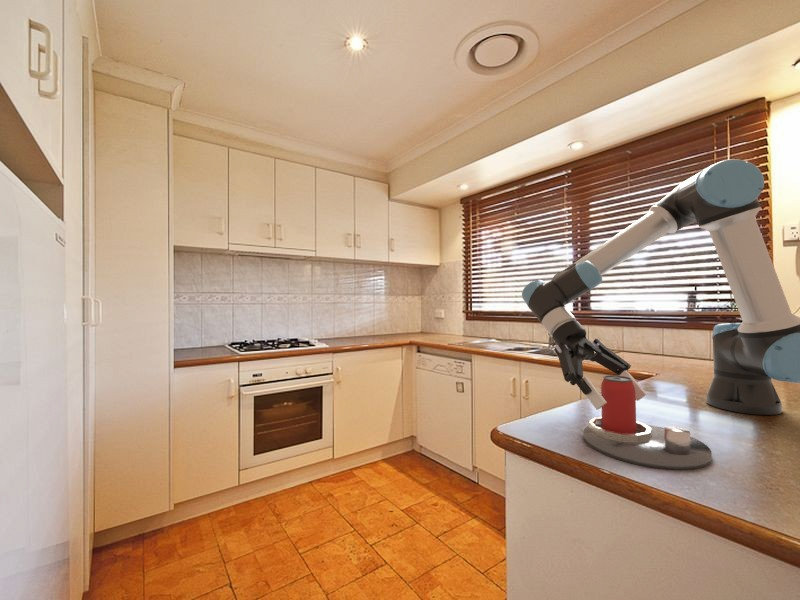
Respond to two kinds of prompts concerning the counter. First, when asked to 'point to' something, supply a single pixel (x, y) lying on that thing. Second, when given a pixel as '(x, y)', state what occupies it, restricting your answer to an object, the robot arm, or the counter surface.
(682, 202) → the robot arm
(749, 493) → the counter surface
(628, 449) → the carrier plate
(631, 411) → the beer can
